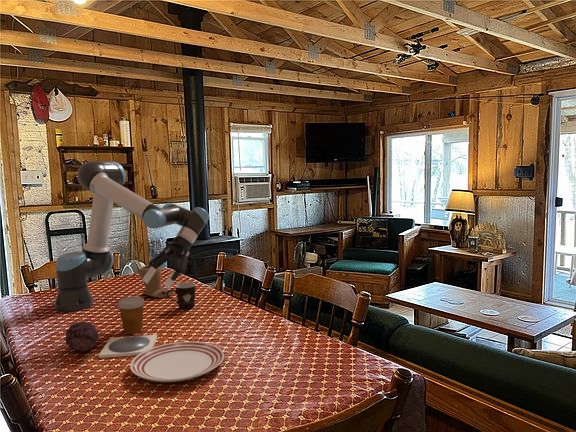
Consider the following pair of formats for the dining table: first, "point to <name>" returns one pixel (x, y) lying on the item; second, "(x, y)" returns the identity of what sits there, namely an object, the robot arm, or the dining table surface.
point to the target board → (127, 346)
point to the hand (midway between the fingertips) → (155, 284)
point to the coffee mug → (185, 295)
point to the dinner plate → (176, 361)
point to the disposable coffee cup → (131, 314)
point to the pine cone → (82, 336)
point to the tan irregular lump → (154, 283)
